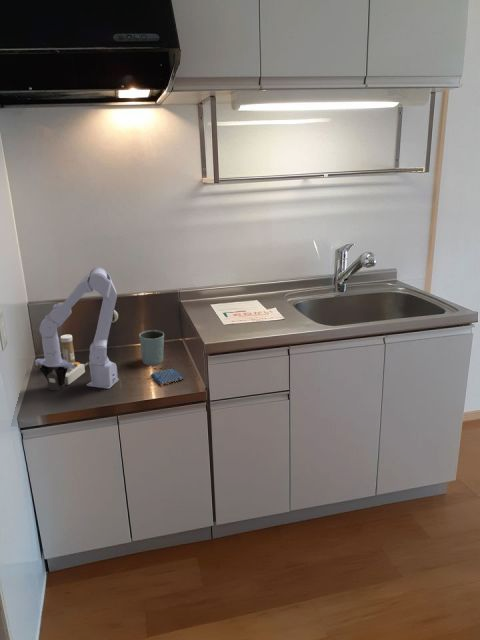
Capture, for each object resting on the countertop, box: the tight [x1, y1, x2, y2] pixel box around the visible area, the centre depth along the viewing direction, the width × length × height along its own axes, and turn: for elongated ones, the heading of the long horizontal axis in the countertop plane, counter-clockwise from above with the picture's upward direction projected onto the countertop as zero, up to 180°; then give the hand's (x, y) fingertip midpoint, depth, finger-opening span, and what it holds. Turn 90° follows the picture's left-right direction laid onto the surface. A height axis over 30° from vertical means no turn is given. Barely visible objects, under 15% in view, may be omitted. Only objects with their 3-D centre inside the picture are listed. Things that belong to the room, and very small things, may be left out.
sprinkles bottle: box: [59, 334, 76, 363], centre depth 209 cm, size 5×5×13 cm
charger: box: [46, 369, 66, 392], centre depth 193 cm, size 4×6×6 cm, turn 165°
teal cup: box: [138, 329, 165, 366], centre depth 214 cm, size 10×10×12 cm
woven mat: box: [150, 368, 186, 387], centre depth 200 cm, size 10×11×2 cm
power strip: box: [65, 361, 89, 386], centre depth 204 cm, size 6×19×4 cm, turn 165°
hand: (56, 384), depth 193 cm, fingers closed on charger, 4 cm apart
